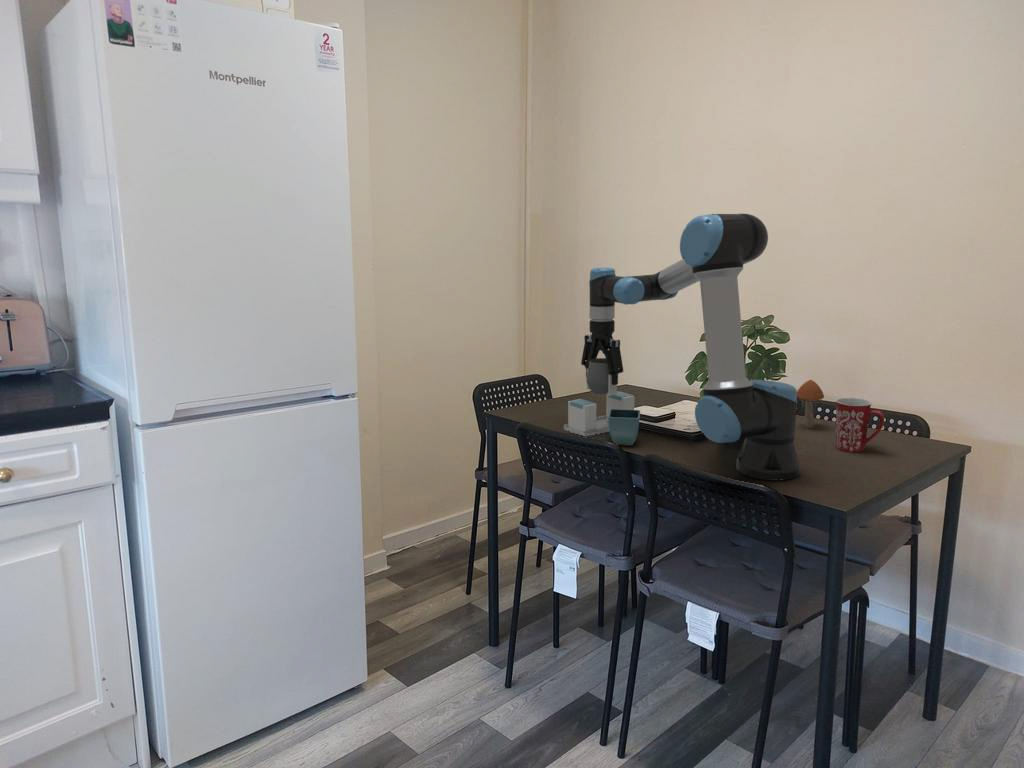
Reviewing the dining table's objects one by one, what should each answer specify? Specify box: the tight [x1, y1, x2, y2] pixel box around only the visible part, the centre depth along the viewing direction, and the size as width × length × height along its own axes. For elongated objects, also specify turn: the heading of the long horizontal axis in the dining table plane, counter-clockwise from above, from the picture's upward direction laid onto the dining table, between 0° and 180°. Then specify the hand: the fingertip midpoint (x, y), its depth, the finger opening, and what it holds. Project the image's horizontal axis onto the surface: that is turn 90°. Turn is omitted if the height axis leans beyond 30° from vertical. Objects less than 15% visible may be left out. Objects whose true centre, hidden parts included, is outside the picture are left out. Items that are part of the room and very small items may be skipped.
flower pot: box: [608, 409, 641, 446], centre depth 204 cm, size 9×9×9 cm
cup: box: [585, 357, 610, 395], centre depth 218 cm, size 10×9×10 cm
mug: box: [835, 397, 885, 453], centre depth 193 cm, size 13×9×14 cm
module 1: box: [567, 398, 597, 432], centre depth 216 cm, size 8×5×8 cm, turn 34°
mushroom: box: [797, 379, 825, 429], centre depth 214 cm, size 8×8×15 cm
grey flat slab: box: [563, 415, 610, 437], centre depth 221 cm, size 10×22×2 cm, turn 124°
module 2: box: [605, 390, 635, 418], centre depth 224 cm, size 8×5×8 cm, turn 34°
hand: (601, 391), depth 219 cm, fingers closed on cup, 9 cm apart
